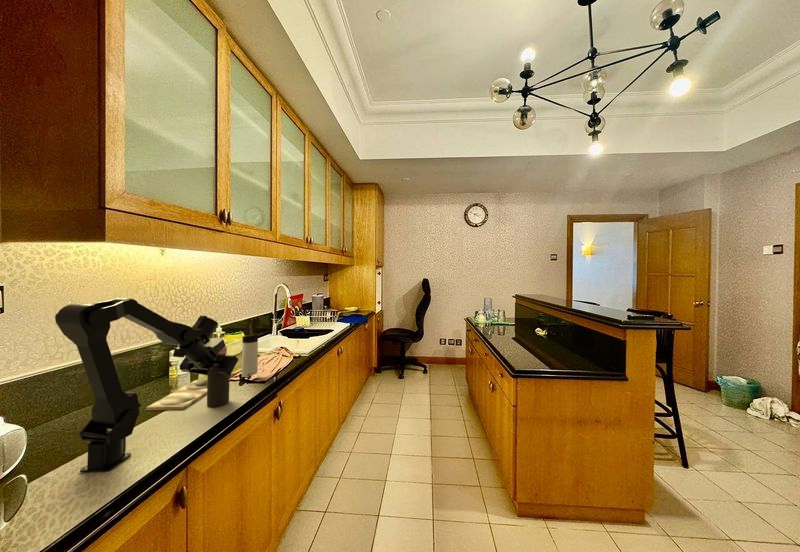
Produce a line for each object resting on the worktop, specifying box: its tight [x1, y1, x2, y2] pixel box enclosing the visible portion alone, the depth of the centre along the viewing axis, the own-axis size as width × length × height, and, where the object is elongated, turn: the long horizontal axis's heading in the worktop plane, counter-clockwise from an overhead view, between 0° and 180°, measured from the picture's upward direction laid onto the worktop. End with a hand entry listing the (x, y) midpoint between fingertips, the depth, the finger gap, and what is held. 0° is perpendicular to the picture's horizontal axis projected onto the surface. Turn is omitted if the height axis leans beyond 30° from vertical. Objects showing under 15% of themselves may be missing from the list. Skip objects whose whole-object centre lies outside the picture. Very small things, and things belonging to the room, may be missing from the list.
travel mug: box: [241, 333, 259, 378], centre depth 132 cm, size 6×7×20 cm
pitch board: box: [145, 378, 207, 411], centre depth 114 cm, size 27×12×3 cm, turn 4°
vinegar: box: [206, 345, 230, 408], centre depth 106 cm, size 7×7×20 cm
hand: (221, 375), depth 107 cm, fingers closed on vinegar, 7 cm apart
